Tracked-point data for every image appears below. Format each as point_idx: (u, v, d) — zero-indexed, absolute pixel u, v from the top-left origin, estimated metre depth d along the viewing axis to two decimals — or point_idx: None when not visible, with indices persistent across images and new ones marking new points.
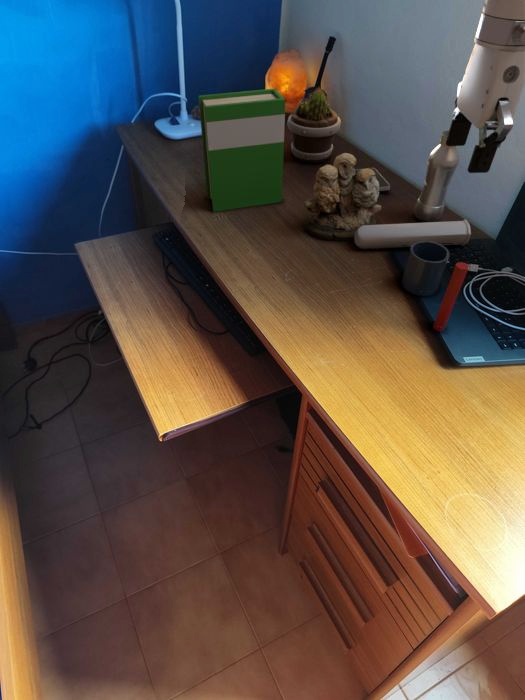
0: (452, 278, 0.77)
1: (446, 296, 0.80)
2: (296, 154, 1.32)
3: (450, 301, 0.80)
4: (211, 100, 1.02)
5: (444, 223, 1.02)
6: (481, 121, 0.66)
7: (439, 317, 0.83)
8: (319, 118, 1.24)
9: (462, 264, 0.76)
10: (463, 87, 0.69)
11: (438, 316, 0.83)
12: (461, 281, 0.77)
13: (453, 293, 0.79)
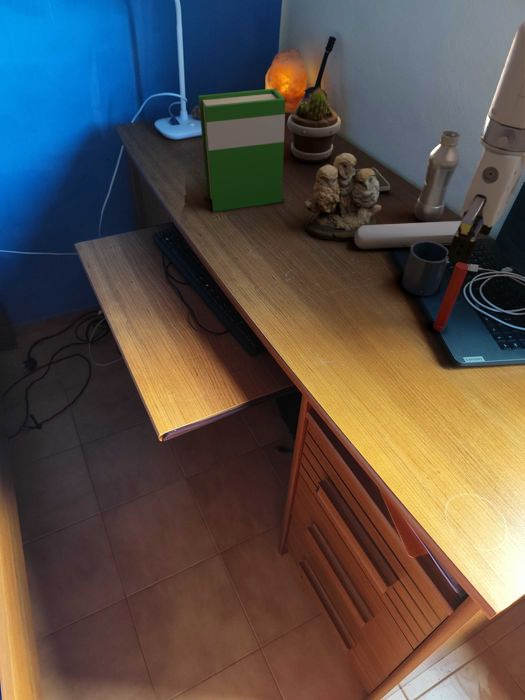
0: (452, 278, 0.77)
1: (446, 296, 0.80)
2: (296, 154, 1.32)
3: (450, 301, 0.80)
4: (211, 100, 1.02)
5: (444, 223, 1.02)
6: (461, 211, 0.66)
7: (439, 317, 0.83)
8: (319, 118, 1.24)
9: (462, 264, 0.76)
10: None
11: (438, 316, 0.83)
12: (461, 281, 0.77)
13: (453, 293, 0.79)
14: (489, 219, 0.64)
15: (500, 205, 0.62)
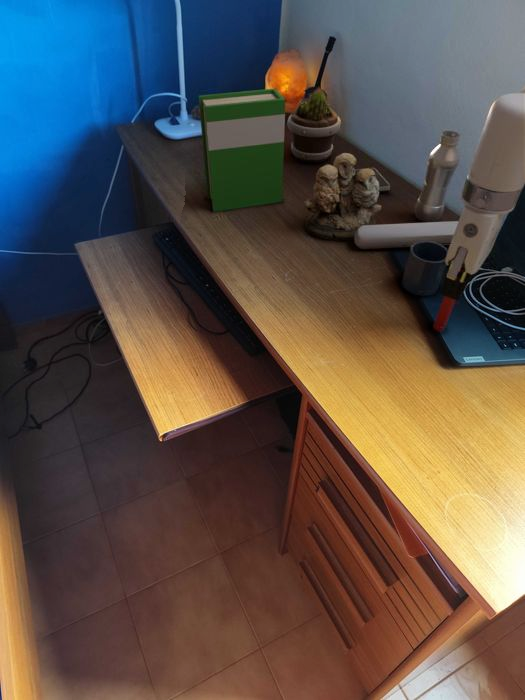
0: None
1: None
2: (296, 154, 1.32)
3: (450, 301, 0.80)
4: (211, 100, 1.02)
5: (444, 223, 1.02)
6: (446, 259, 0.72)
7: (439, 317, 0.83)
8: (319, 118, 1.24)
9: None
10: None
11: (438, 316, 0.83)
12: None
13: None
14: (471, 268, 0.70)
15: (480, 256, 0.68)
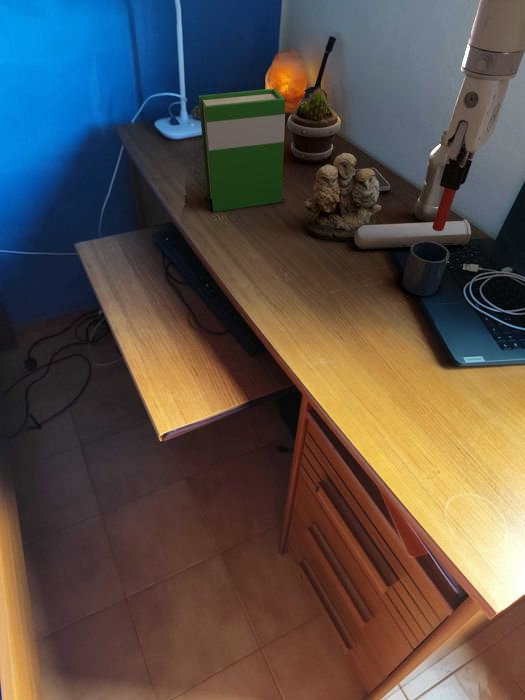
0: None
1: (446, 189, 0.79)
2: (296, 154, 1.32)
3: (450, 194, 0.79)
4: (211, 100, 1.02)
5: None
6: (446, 139, 0.70)
7: (439, 215, 0.82)
8: (319, 118, 1.24)
9: None
10: None
11: (437, 213, 0.82)
12: None
13: None
14: (471, 144, 0.69)
15: (481, 129, 0.67)
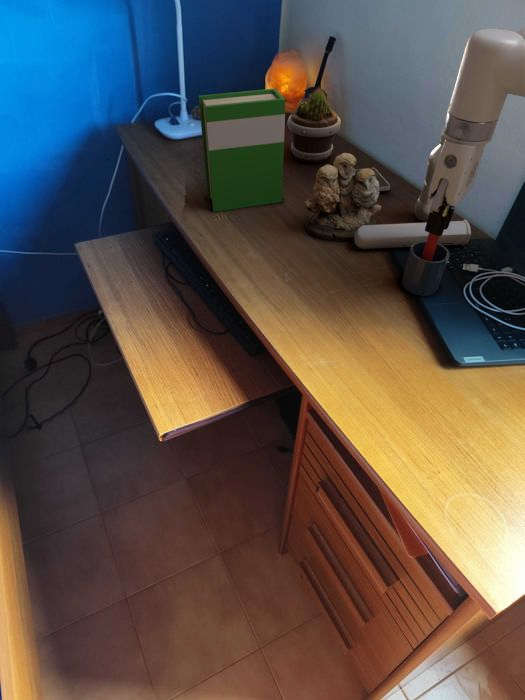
0: None
1: (430, 234, 0.86)
2: (296, 154, 1.32)
3: (434, 238, 0.86)
4: (211, 100, 1.02)
5: None
6: (429, 192, 0.77)
7: (424, 256, 0.89)
8: (319, 118, 1.24)
9: None
10: None
11: (423, 254, 0.89)
12: None
13: None
14: (451, 199, 0.75)
15: (460, 187, 0.74)
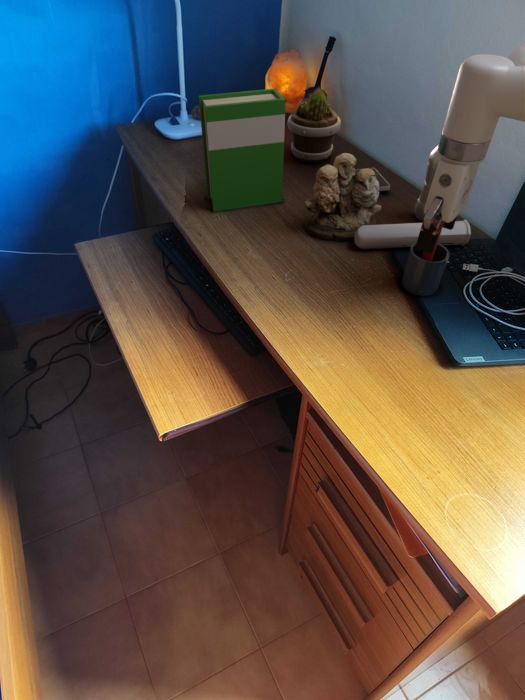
0: None
1: None
2: (296, 154, 1.32)
3: (429, 255, 0.88)
4: (211, 100, 1.02)
5: None
6: (425, 210, 0.80)
7: None
8: (319, 118, 1.24)
9: None
10: None
11: None
12: None
13: None
14: (447, 216, 0.78)
15: (455, 205, 0.76)
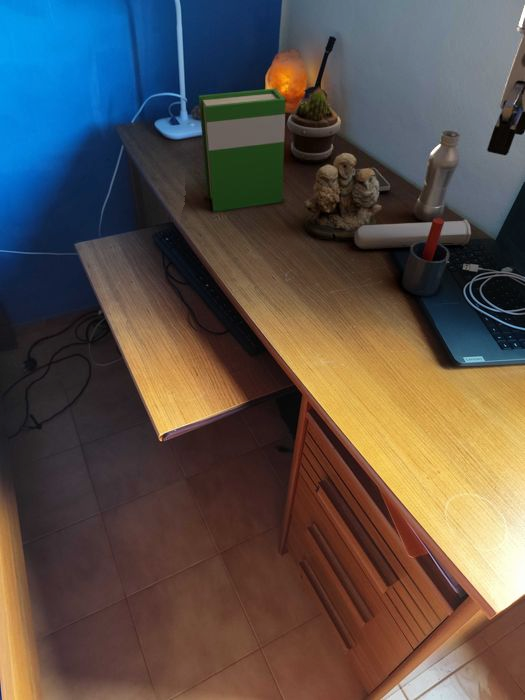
0: (430, 233, 0.86)
1: (425, 251, 0.88)
2: (296, 154, 1.32)
3: (429, 255, 0.88)
4: (211, 100, 1.02)
5: (444, 223, 1.02)
6: (501, 101, 0.71)
7: None
8: (319, 118, 1.24)
9: (438, 220, 0.84)
10: None
11: None
12: (438, 235, 0.85)
13: (431, 247, 0.87)
14: None
15: None
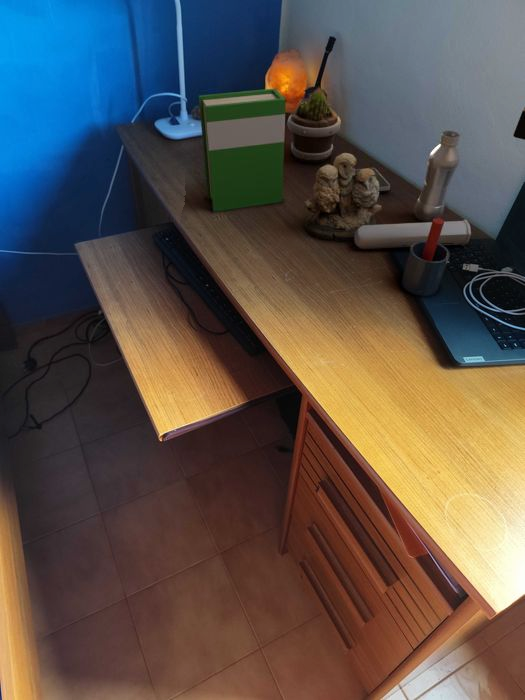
0: (430, 233, 0.86)
1: (425, 251, 0.88)
2: (296, 154, 1.32)
3: (429, 255, 0.88)
4: (211, 100, 1.02)
5: (444, 223, 1.02)
6: None
7: None
8: (319, 118, 1.24)
9: (438, 220, 0.84)
10: None
11: None
12: (438, 235, 0.85)
13: (431, 247, 0.87)
14: None
15: None
